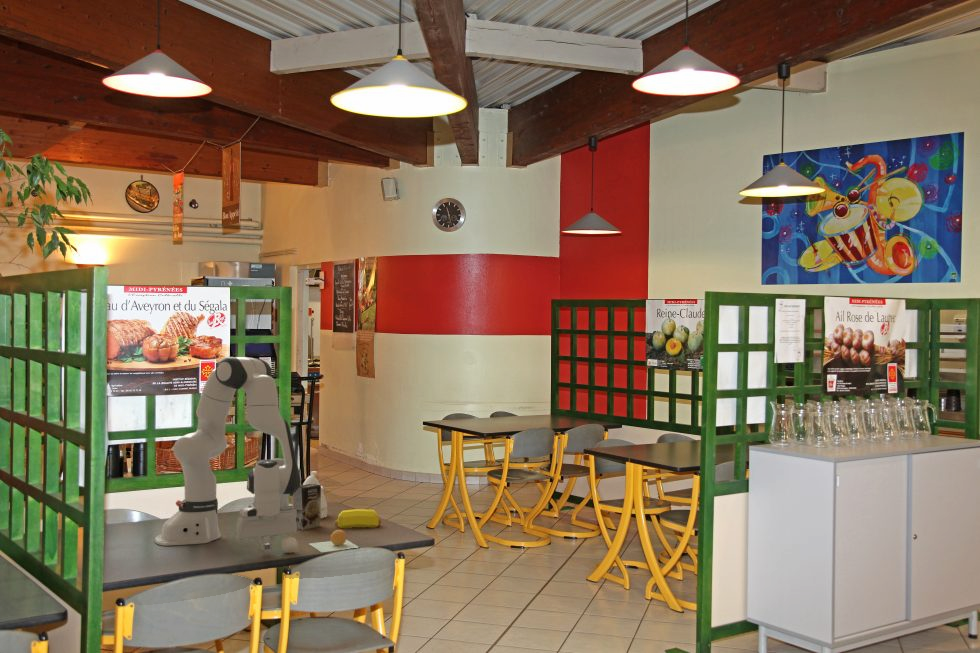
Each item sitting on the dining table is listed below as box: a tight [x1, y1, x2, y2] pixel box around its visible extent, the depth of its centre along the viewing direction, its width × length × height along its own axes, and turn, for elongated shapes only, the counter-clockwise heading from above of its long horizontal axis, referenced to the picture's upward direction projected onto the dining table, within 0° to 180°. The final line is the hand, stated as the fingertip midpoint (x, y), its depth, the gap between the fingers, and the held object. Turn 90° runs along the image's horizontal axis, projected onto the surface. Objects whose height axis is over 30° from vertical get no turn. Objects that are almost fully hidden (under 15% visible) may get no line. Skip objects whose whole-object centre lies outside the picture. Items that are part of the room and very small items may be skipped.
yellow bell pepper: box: [334, 508, 382, 529], centre depth 349 cm, size 18×7×8 cm
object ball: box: [330, 529, 347, 546], centre depth 318 cm, size 6×6×6 cm
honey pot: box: [302, 470, 328, 519], centre depth 367 cm, size 13×13×18 cm
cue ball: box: [280, 536, 299, 554], centre depth 306 cm, size 6×6×6 cm
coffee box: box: [292, 484, 322, 531], centre depth 347 cm, size 9×6×16 cm
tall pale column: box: [268, 457, 290, 507], centre depth 378 cm, size 11×4×22 cm, turn 96°
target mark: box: [308, 539, 359, 554], centre depth 316 cm, size 14×14×1 cm
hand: (266, 549), depth 305 cm, fingers closed
